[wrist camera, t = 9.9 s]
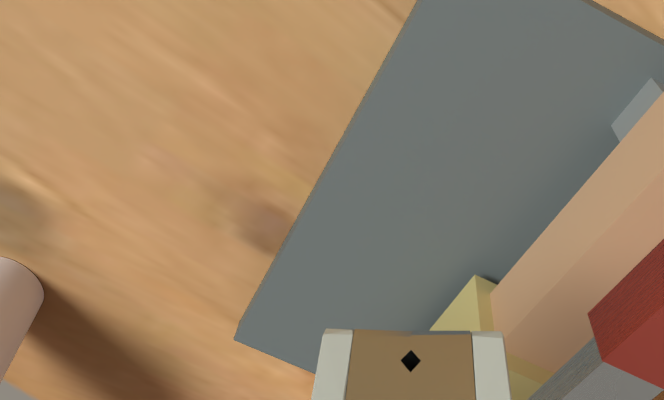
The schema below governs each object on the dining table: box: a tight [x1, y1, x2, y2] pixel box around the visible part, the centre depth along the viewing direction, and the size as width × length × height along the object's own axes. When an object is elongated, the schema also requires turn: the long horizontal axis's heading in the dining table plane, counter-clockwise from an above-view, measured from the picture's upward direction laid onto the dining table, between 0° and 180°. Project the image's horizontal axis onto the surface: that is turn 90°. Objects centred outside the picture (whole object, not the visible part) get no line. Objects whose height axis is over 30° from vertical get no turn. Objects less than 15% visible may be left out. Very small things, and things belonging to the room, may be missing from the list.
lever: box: [527, 239, 664, 400], centre depth 19 cm, size 13×3×2 cm, turn 154°
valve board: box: [234, 0, 664, 400], centre depth 24 cm, size 20×14×7 cm
